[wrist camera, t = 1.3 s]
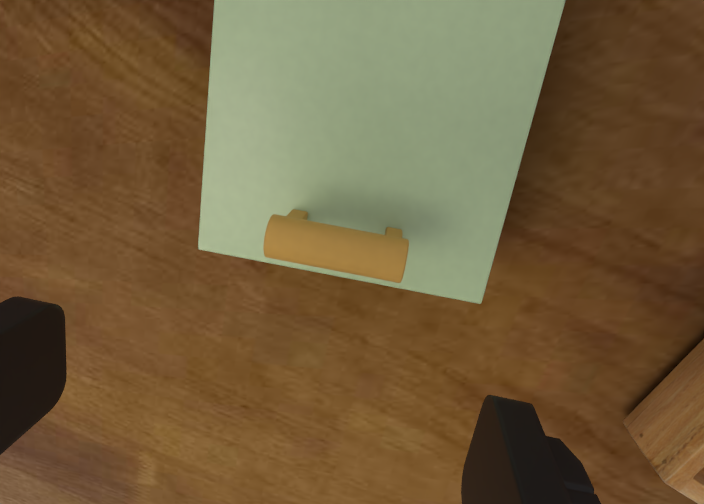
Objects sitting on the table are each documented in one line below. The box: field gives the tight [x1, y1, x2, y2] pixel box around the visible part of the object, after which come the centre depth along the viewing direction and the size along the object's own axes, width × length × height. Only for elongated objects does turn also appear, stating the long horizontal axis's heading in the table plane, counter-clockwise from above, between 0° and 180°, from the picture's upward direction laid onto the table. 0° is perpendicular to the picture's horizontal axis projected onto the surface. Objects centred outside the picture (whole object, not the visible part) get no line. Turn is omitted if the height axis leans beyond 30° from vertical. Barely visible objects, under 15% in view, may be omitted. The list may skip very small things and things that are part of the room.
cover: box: [198, 0, 566, 304], centre depth 17 cm, size 16×13×5 cm
